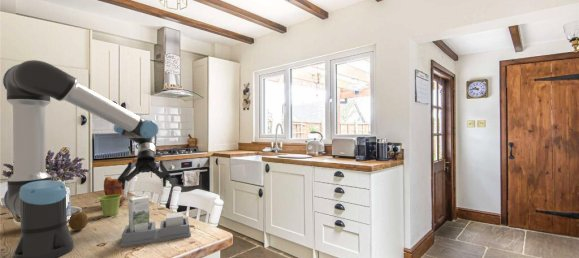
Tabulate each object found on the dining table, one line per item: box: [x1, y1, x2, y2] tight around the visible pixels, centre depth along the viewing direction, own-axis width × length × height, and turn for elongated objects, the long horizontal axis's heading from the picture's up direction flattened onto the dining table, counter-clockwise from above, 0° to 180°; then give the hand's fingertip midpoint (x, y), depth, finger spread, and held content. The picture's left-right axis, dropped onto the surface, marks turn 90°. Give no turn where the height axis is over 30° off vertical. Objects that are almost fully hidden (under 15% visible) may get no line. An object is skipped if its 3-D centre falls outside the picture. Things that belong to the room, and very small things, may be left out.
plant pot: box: [97, 195, 122, 218], centre depth 137 cm, size 9×9×9 cm
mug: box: [103, 176, 126, 207], centre depth 154 cm, size 15×8×15 cm, turn 58°
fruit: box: [68, 210, 89, 232], centre depth 116 cm, size 6×6×8 cm
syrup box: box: [128, 194, 150, 233], centre depth 106 cm, size 6×6×14 cm
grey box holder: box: [119, 211, 192, 248], centre depth 108 cm, size 23×11×7 cm, turn 112°
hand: (143, 194), depth 119 cm, fingers open, 13 cm apart
